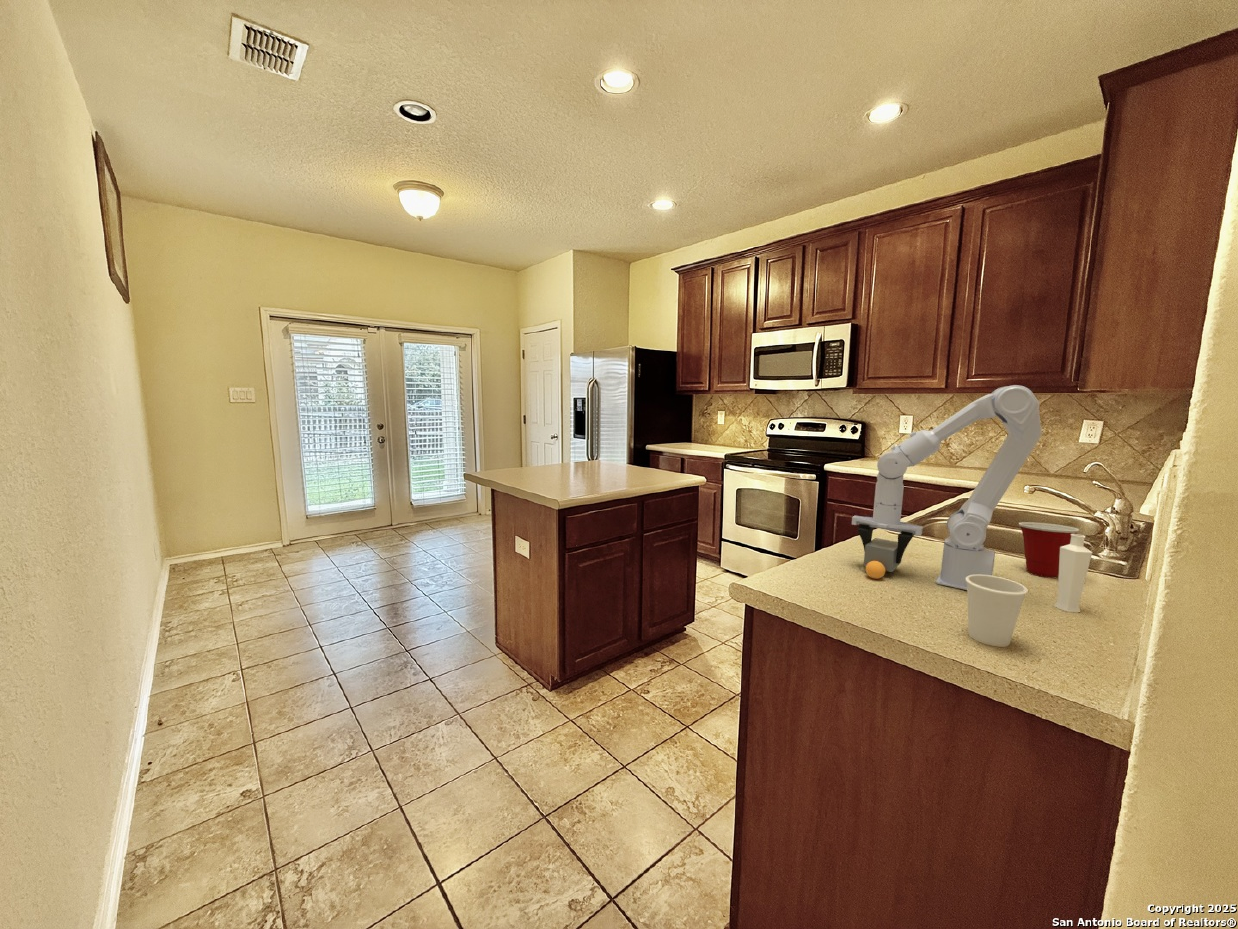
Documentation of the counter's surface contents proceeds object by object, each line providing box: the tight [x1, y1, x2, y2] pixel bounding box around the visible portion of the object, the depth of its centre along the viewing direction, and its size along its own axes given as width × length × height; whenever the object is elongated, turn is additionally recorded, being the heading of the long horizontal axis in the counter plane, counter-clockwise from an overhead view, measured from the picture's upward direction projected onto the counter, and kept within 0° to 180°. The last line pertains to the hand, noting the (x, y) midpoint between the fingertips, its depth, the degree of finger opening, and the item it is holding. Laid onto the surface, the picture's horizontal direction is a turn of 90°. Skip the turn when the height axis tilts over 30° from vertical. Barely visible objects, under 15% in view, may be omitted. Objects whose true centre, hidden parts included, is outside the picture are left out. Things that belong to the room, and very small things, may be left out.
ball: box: [865, 561, 886, 580], centre depth 111 cm, size 4×4×4 cm
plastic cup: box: [1018, 521, 1080, 578], centre depth 115 cm, size 11×11×12 cm
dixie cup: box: [966, 574, 1029, 648], centre depth 83 cm, size 8×8×10 cm
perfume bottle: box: [1053, 533, 1093, 613], centre depth 95 cm, size 5×4×15 cm
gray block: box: [863, 537, 902, 573], centre depth 116 cm, size 6×9×5 cm, turn 139°
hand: (882, 559), depth 116 cm, fingers closed on gray block, 6 cm apart
